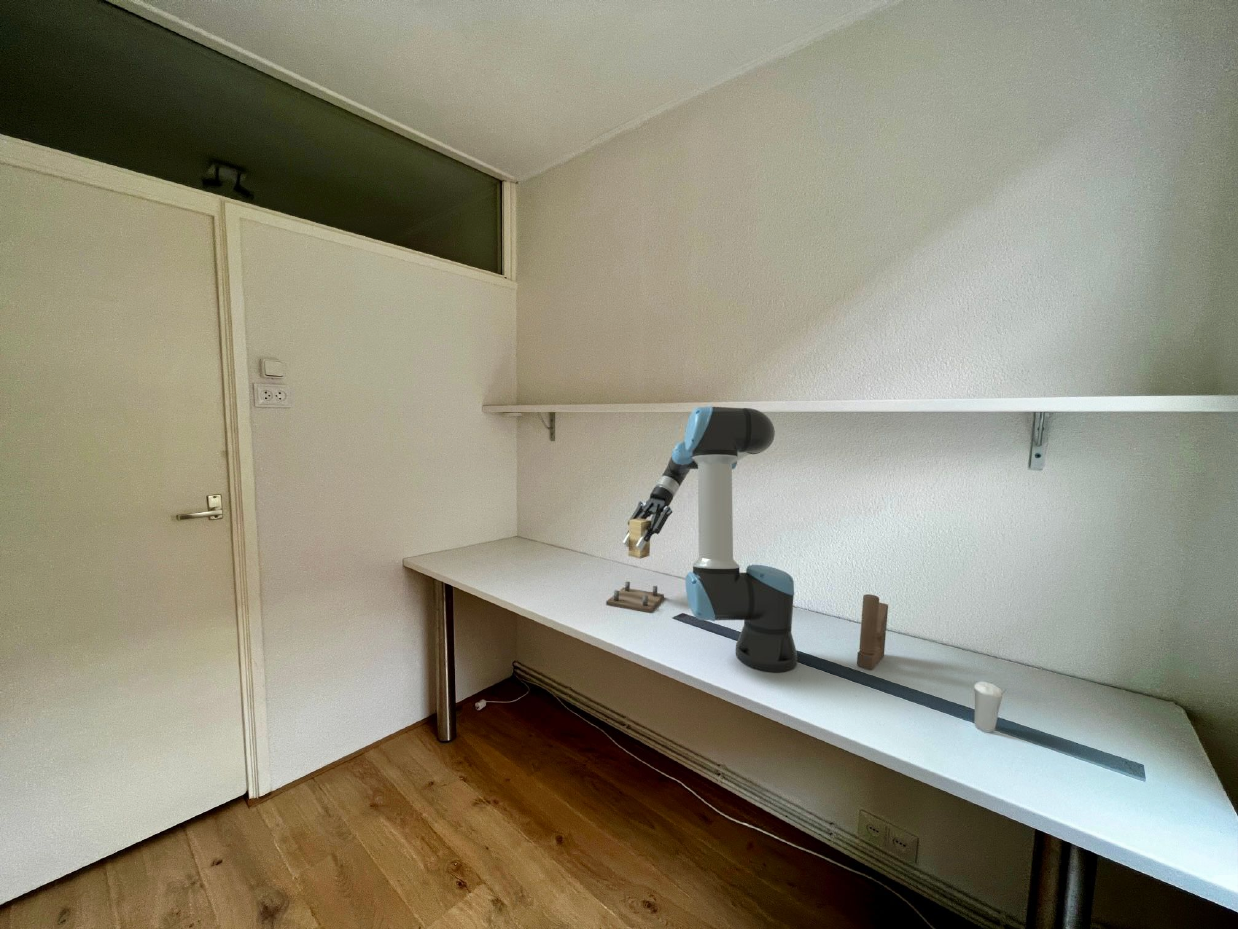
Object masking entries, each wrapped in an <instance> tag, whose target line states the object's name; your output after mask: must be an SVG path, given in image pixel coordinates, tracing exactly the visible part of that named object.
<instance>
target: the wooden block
mask: <svg viewBox="0 0 1238 929" xmlns="http://www.w3.org/2000/svg"><path fill="white" fill-rule="evenodd" d="M861 607H862V608H861V619H860V620H861V621H860V622H861V623H860V636H859V647H858V648H859V651H858V652H857V655H856V656H857V657H856V665H857V666H858V667H860V668H863V669H866V670H870V671H873V669H874V668H875V667H876V666H877V665H878V664H879V663H880V662H881V660H882V659H883V658H884V657H885V651H886V650H885V649H886V637H887V636H886V634H887V632H886V631H887V628H888V627H887V626H888V612H889V604H887V603H883V602H880V598H879V596H877V595H875V594H864V595H863V596H862V606H861Z"/></svg>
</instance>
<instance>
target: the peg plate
mask: <svg viewBox="0 0 1238 929" xmlns="http://www.w3.org/2000/svg"><path fill="white" fill-rule="evenodd" d="M630 586H631V581H625V584H624V587H622V588H621V589H620V590H618V589H617V590H616V589H615V590H614V591H613V595H612V596H611V597H609V598H608V599H607V600H606V602H605V605H606V606H610V607H614V608H615V607H616V608H621V609H627V610H632V611H637V612H644V613H649V614H651V612H652V611H653V610H655V608H656V607H657V606H658V604H660V602H662V600H664V598H665V593H661V592H660V593H658V586H657V585H653V586H652V591H646V590H641V589H635V588H631V587H630Z"/></svg>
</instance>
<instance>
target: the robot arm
mask: <svg viewBox="0 0 1238 929" xmlns="http://www.w3.org/2000/svg"><path fill="white" fill-rule="evenodd" d="M775 435H776V431H775V426H774V423H773V422H772V420H771V419H770V417H768V415H766V414H765V413H763V412H762V411H760V410H758V409H755V408H751V407H743V408H742V407H726V406H723V407H722V406H711V405H710V406H701V407H700V406H698V407H695V408H694V409H693V410H692V412H691V413H690V415H689V417H688V419H687V424H686V429H685V434H684V441H679V442H678V443H677V444H676V445H675V447H674V448H673V450H672V452H671V455H670V459H669V461H668V464H667V466H666V468H665V470H664V471H663V473H662V475H661V477H660V478H659V480H658V481H657V483H656V484H655V486H654V487H653V488H652V491H651V493H650V494H649V499H648V500H647V501H646V502H642V501H638V504H637V508H635V511H634V512H633V513H632V515H631V517H630V518H629V520H633V519H638V518H641V519H646V520H648V518H650V517H651V518H650V520H651V522H650V524H649V528H647V529H648V530H645V531H644V533H643V535H642V536H641V538H640V540H639V541H638V543H637V545H636V547H637V548H638V549H639V550H640V551H642V549H643V547H644V545H645V544H646V542H648V541H649V540H650V541H651V538H652V536H653V535H654V534H657V535H659V534H660V533H661V532H662V529H663V528H664V526H665V524H666V523H667V520H668V518H669V516H671V515H672V513H673V510H672V508H671V506H670V505H671V503H672V501H673V500H674V497H675V496H676V494H677V492H678V491H679V489H680V487H681V485H682V484H683V482H684V480H685V478H686V477H687V476H688V474H689V473H690V470H698V471H697V475H698V476H697V477H698V478H697V480H698V482H697V483H698V484H697V490H698V492H697V494H698V498H697V499H698V500H697V501H698V502H697V503H698V505H697V506H698V558H697V560H696V561H695V562H694V563H693V564H692V571H689V572H687V573H686V575H685V579H686V580H685V592H686V598H687V603H688V605H689V609H690V611H691V613H692V615H693V616H694V617H695V618H696V619H697V620H701V621H711V622H715V621H743V626H742V629H741V630H740V633H739V636H738V639H737V641H736V644H735V656H736V658H737V659H738V660H739V661H740V662H741V663H742V664H744V665H746V666H748V667H750V668H752V669H756V670H759V671H764V672H769V673H770V672H771V673H784V672H788V671H791V670H793V669H794V668H796V666H797V663H798V652H797V649H796V644H795V641H794V638H793V634H792V626H793V612H794V597H795V582H794V579H793V577H792V575H790V574H789V573H788V572H786V571H784V570H782V569H778V568H776V567H772V566H768V565H763V564H749V565H747V567H746V569H745V572H740V565H739V564H738V563H737V561H735V560H734V537H733V536H734V533H733V532H734V529H733V528H734V527H733V526H734V524H733V518H734V517H733V470H734V469H735V468H736V467H737V464H738V461H740V460H742V459H743V458H745V457H748V456H749V455H758V454H761V453H763V452H764V451H766V450H768V449H769V448H770V447H771V445H772V444H773V442H774V440H775ZM629 520H628V521H627V525H628V526H629ZM622 544H623V545H624V546H625V547H626V548H629V529H628V531H626V536H625V538H624V539H623V541H622Z"/></svg>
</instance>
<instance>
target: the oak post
mask: <svg viewBox="0 0 1238 929" xmlns="http://www.w3.org/2000/svg"><path fill="white" fill-rule="evenodd" d="M628 521H629V525H628V527H629V528H628V530H629V547H628V552H627V553H628V557H632V558H636V559H638V560H639V559H640V560H641V559H644V558H648V557H650V554H651V553H650V551H651V550H650V549H651V548H650V547H651V539H650V540H649V541H648V542H646V544H645V545H644V547H643V549H642V551H640V550H639V549H638V548H637V547H636V545H637V543H638V541H639V540H640V538H641V536H642V535H643V533H644V531H645V530H648V529H647V528H649V524H650V522H651V519H641V518H638V519H633V520H630V519H629V520H628Z"/></svg>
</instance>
